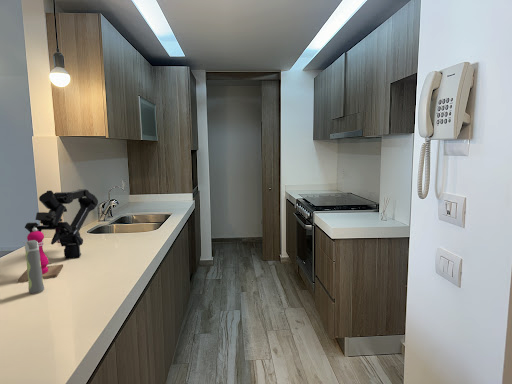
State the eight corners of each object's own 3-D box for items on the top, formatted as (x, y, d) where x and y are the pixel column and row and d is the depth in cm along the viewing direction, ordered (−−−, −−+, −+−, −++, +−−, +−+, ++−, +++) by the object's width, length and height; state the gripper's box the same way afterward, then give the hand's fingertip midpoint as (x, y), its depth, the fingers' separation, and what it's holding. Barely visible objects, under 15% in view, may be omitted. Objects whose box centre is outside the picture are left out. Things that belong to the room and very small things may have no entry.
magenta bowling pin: (51, 268, 146) (46, 225, 144) (47, 274, 140) (42, 228, 137) (32, 271, 144) (26, 227, 141) (27, 276, 137) (22, 230, 135)
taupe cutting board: (63, 266, 152) (62, 264, 152) (56, 277, 139) (56, 274, 139) (27, 271, 147) (27, 268, 147) (17, 282, 134) (17, 279, 134)
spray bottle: (41, 287, 128) (36, 238, 126) (46, 291, 125) (40, 240, 123) (27, 292, 124) (21, 241, 122) (31, 295, 121) (25, 243, 119)
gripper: (25, 205, 146) (9, 235, 137) (66, 204, 146) (52, 234, 136) (39, 218, 155) (24, 248, 146) (77, 217, 155) (65, 247, 145)
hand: (41, 244), depth 143 cm, fingers open, 9 cm apart
